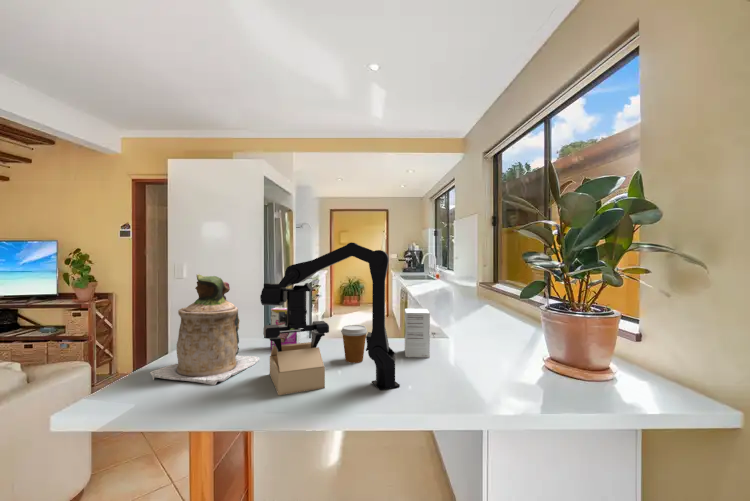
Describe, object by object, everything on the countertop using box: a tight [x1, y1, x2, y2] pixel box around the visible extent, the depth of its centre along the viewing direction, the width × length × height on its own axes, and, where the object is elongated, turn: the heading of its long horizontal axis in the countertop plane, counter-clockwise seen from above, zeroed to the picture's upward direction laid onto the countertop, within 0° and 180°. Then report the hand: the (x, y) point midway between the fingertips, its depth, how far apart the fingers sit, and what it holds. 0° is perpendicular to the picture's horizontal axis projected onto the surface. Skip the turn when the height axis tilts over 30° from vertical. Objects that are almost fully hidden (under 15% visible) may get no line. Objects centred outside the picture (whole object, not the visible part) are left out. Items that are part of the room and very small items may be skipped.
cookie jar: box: [149, 273, 260, 386], centre depth 117 cm, size 25×25×32 cm
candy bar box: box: [269, 306, 301, 350], centre depth 143 cm, size 11×5×16 cm, turn 84°
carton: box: [269, 355, 326, 396], centre depth 107 cm, size 18×13×6 cm
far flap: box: [270, 341, 311, 356], centre depth 113 cm, size 7×12×1 cm
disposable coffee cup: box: [340, 324, 368, 364], centre depth 128 cm, size 10×10×12 cm
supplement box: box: [404, 308, 431, 359], centre depth 136 cm, size 10×9×17 cm
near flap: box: [277, 346, 325, 373], centre depth 101 cm, size 7×12×1 cm
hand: (296, 357), depth 106 cm, fingers open, 9 cm apart
